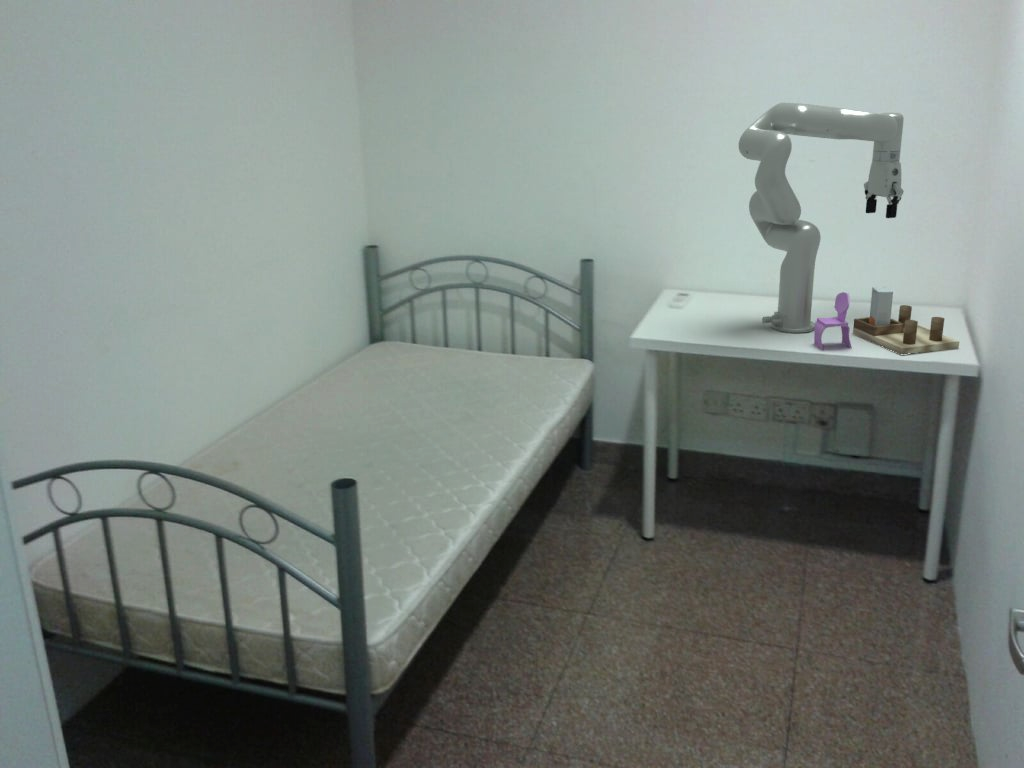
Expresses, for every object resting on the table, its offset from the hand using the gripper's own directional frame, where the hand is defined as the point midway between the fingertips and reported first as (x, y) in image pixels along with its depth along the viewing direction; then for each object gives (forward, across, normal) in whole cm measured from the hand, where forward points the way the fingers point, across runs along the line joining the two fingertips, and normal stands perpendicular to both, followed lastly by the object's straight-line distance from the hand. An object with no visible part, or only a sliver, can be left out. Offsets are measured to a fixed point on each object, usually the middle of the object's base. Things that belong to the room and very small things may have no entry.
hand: (880, 215), depth 291 cm
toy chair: (+31, -25, +30) cm, 50 cm away
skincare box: (+28, -22, +13) cm, 38 cm away
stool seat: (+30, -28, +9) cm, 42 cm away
